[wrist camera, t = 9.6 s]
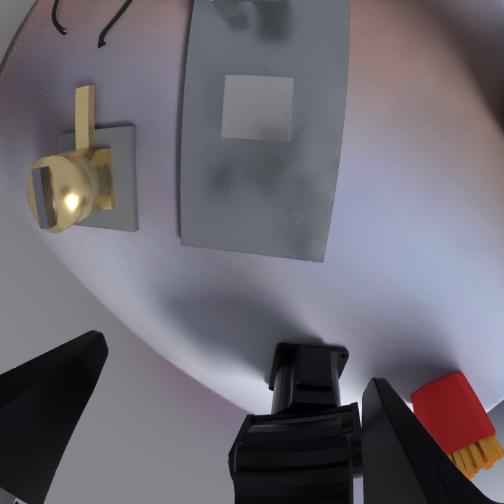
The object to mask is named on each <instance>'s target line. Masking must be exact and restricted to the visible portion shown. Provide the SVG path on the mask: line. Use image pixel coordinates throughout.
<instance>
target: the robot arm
mask: <svg viewBox="0 0 504 504" xmlns="http://www.w3.org/2000/svg"><path fill="white" fill-rule="evenodd" d="M280 348H283V349H280ZM342 354H344V355H342ZM107 356H108V347H107V343H106V341H105V337H104V335H103V333H101V332H99V331H96V330H91V331H89V332H87V333H85V334H83V335H81V336H79V337H77V338H75V339H73V340H70V341H69V342H66V343H64V344H62V345H60V346H58V347H56V348H54V349H52V350H50V351H48V352H46V353H44V354H42V355H40V356H38V357H36V358H34V359H32V360H30V361H28V362H25V363H24V364H21V365H20V366H17V367H16V368H13V369H11V370H9V371H7V372H5V373H3V374H1V375H0V504H18V502H17V501H16V500H17V498H18V499H20V500H22V501H23V502H25V503H27V504H44V501H45V498H46V496H47V492H48V490H49V488H50V485H51V482H52V480H53V478H54V475H55V472H56V470H57V467H58V465H59V463H60V460H61V458H62V456H63V454H64V451H65V449H66V446H67V445H68V442H69V440H70V438H71V436H72V434H73V431H74V429H75V427H76V425H77V423H78V421H79V419H80V417H81V415H82V413H83V411H84V409H85V407H86V405H87V403H88V401H89V398H90V397H91V395H92V393H93V391H94V388H95V386H96V384H97V381H98V379H99V376H100V374H101V371H102V368H103V366H104V364H105V361H106V359H107ZM348 357H349V352H348V350H347V349H338V348H326V347H315V346H305V345H296V344H287V343H279V344H277V345H276V349H275V355H274V360H273V366H272V371H271V376H270V382H269V390H271V391H274V394H273V402H272V410H271V414H268V415H254V414H248V415H247V416H246V418H245V420H244V422H243V424H242V426H241V428H240V431H239V433H238V435H237V437H236V439H235V441H234V443H233V446H232V448H231V450H230V452H229V455H228V456H229V459H228V465H229V470H230V475H231V478H232V480H233V482H234V491H235V504H353V478H361V477H363V490H364V504H504V503H498V502H495V501H493V500H491V499H489V498H488V497H486V496H485V495H484V494H483V493H482V492H481V491H480V490H479V489H478V488H477V487H476V486H475V485H474V484H473V483H472V482H471V481H470V480H469V479H468V478H467V477H466V476H465V475H464V474H463V473H462V472H461V471H460V470H459V469H458V468H457V466H456V465H455V464H454V463H453V462H452V460H451V459H450V458H449V457H448V455H447V454H446V453H445V452H444V451H442V450H443V449H442V448H441V447H440V445H439V444H438V443H437V442H436V440H435V439H434V438H433V437H432V435H431V434H430V433H429V432H428V430H427V429H426V428H425V427H424V425H423V424H422V423H421V422H420V421H419V419H418V418H417V417H416V416H415V414H414V413H413V412H412V411H411V409H410V408H409V407H408V406H407V405H406V403H405V402H404V401H403V400H402V398H401V397H400V396H399V395H398V394H397V392H396V391H395V390H394V389H393V388H392V386H391V385H390V384H389V383H388V382H387V380H386V379H385V378H378V377H374V378H372V379H371V380H370V382H369V384H368V385H367V387H366V389H365V391H364V393H363V396H362V424H361V423H360V416H359V409H358V403H357V402H355V403H351V404H350V405H344V406H341V402H340V390H339V378H340V376H341V374H342V372H343V369H344V367H345V365H346V362H347V360H348Z"/></svg>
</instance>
